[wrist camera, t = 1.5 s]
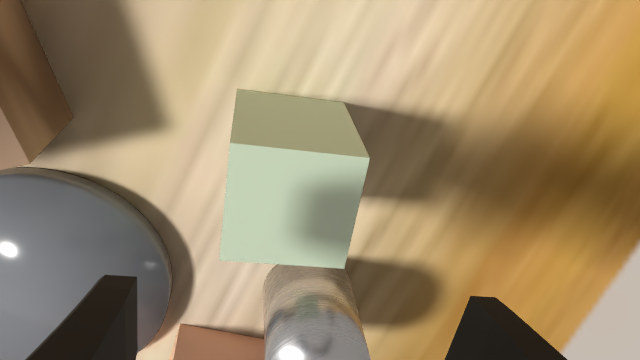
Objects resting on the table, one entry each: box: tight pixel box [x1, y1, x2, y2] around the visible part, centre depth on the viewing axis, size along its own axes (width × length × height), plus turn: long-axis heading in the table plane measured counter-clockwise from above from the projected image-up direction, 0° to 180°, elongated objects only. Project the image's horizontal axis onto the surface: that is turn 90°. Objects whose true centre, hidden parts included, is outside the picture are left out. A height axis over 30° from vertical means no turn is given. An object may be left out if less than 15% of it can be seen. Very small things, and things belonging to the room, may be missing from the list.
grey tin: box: [263, 264, 370, 360], centre depth 20 cm, size 4×4×5 cm
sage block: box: [219, 89, 370, 269], centre depth 17 cm, size 4×4×5 cm
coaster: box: [0, 167, 172, 360], centre depth 20 cm, size 10×10×1 cm
